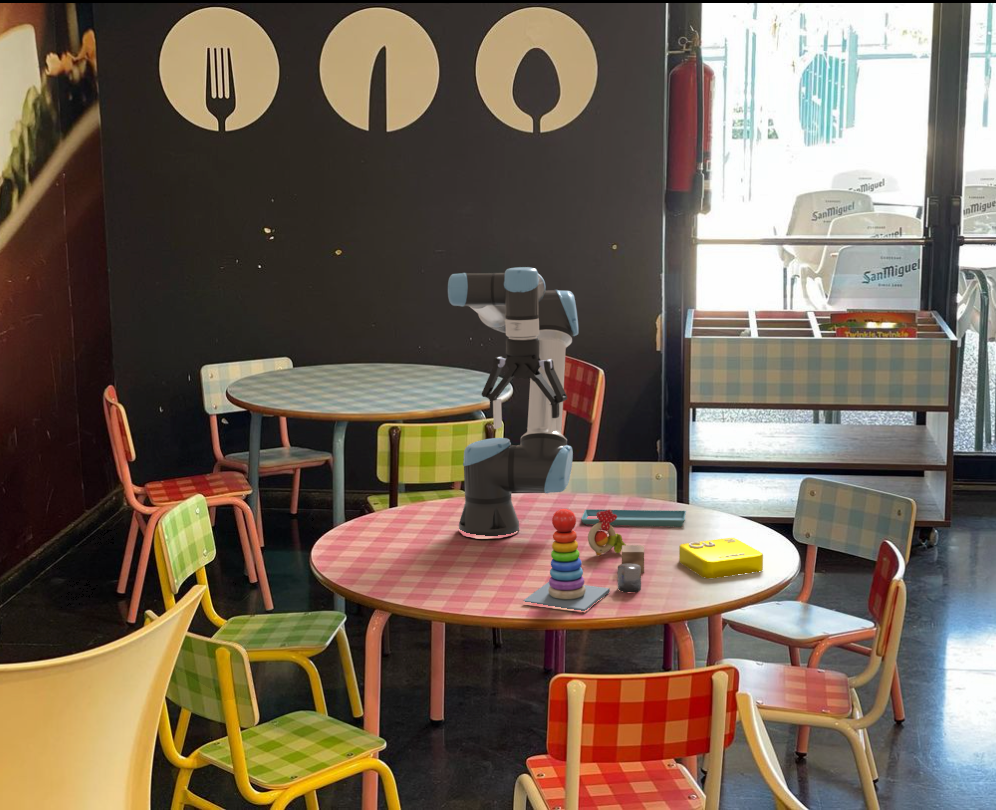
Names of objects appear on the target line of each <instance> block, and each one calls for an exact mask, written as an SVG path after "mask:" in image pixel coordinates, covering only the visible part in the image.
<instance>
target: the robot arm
mask: <svg viewBox="0 0 996 810" xmlns="http://www.w3.org/2000/svg"><path fill="white" fill-rule="evenodd" d="M447 297H448V302H449V304H451V305H452V306H454V307H457V306H458V307H470V309H472V310H473V311H474V312H476V313H477V315H478V317H479V319H480V321H481V322H482V323H483V324H484V325H485V326H487V327H488V328H491V329H493V330H495V331H498V332H500V333H504V334H505V336H506V337H507V338H506V339H505V354H506V357H505V358H504V357H503V356H501V355H500V356H496V357H495V358H494V359H493V364H492V369H491V371H490V372H489V373H490V374H489V376H488V377H487V380H486V382H485V385H484V387H483V390H482V392H481V396H482V397H483V398H487V399H488V400H489V413H490V414H491V415H493V416H492V418H493V429H494V430H498V429H500V428H502V427H503V423H502V421H503V417H502V416H503V415H502V399H501V398H499V397H500V395H502V393H503V391H504V390H505V389H506V387H507V386H508V385H509V383H510V382H511V381H512V379H514V378H515V379H523V380H528V379H530V380H529V382H530V383H529V395H528V396H529V397H528V398H529V399H528V415H527V427H526V429H527V431H526V432H525V433H524V434H523V435H521V437H520V444H518V445H516V444H515V445H513V444H512V443H511V440H510V439H509V438H507V437H492V438H486V439H480V440H477V441H474V442H471V443H469V444H468V445H467V446H465V448H464V451H463V463H462V466H463V475H464V477H463V478H464V479H463V480H464V505H463V507H462V508H463V509H462V512H461V515H460V519H459V523H458V530H459V529H460V530H462V531H464V532H466V533H470V534H476V535H485V536H498V535H506V534H511V533H514V532H516V531H518V530H519V531H520V522H519V519H518V515H517V513H516V510H515V508H514V504H513V501H512V493H541V494H542V493H545V494H550V493H551V494H552V493H562V492H565V490H566V489H567V487H568V485H569V481H570V479H571V473H572V467H573V457H574V455H573V454H574V453H573V447H572V446H571V445H568V439H567V437H565V435H563V434H562V427H563V410H564V401H567V400H568V395H567V394H566V391H565V371H566V370H565V367H566V366H565V365H566V349H567V348H568V347H569V346H570V345H571V344H572V343H573V337H575V336H577V335H579V320H578V319H579V318H578V310H577V305H576V300H575V299H576V297H575V295H574V293H573V292H572V291H570V290H558V289H554V290H546V282H545V280H544V278H543V277H542V275H541V274H539V272H538V270H537V268H536V267H535V268H534V267H530V266H527V267H526V266H522V267H521V266H519V267H511V268H510V267H509V268H507V269H506V270H505V271H504V272H493V273H492V272H491V273H490V272H488V273H487V272H486V273H479V272H477V273H475V272H473V273H472V272H471V273H469V272H468V273H467V272H462V273H452V274H451V275H450V276H449V278H448V282H447ZM504 366H506V368H507V369H508V370H507V372H506V373H505V374H504V377H503V378H502V379H501V380H500V381H499V383H498V384H497V385H496V383H497V382H498V381H497V380H498V378H499V376H500V374H501V371H502V369H503V367H504ZM495 385H496V387H495ZM494 387H495V388H494Z"/></svg>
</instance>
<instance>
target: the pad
mask: <svg viewBox="0 0 996 810" xmlns="http://www.w3.org/2000/svg"><path fill="white" fill-rule="evenodd" d="M584 586H585V588H586V592H585V594H584V595H583V596H581V597H579V598H576V599H568V600H566V599H557V598H554V597H552V596H551V595H550V594H549V591H548V589H549V587H550V584H549V581H547V582H546V583H545V584H543V585H542V586H540V588H538V589H537V590H536V591H534V592H533V593H531V594H530V595H528V596H527V597H526V598H524V599H523V600H522V601H525V602H531V603H537V604H543V605H548V606H555V607H561V608H567V609H574V610H581V611H585V610H587V609H588V608H590V607H591V606H592V605H593V604H594V603H596V602H597V601H598V600H600V599H601V598H603V597H604V596H605V595H606V594H608V593H609V592H610V591H611V589H610V588H609V587H602V586H601V587H600V586H596V585H595V586H593V585H587V584H584ZM609 594H610V593H609ZM609 594H608V595H609ZM606 596H607V595H606ZM606 596H605V597H606ZM605 597H604V598H605ZM604 598H603V599H604ZM600 601H601V600H600Z"/></svg>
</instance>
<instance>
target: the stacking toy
mask: <svg viewBox="0 0 996 810" xmlns="http://www.w3.org/2000/svg"><path fill="white" fill-rule="evenodd" d="M551 522H552V526H553V528H554V529H555V531H554V532H553V534H552V539H553V540H554V541H552V543H551V548H552V551H551V553H550V557H551V560H550V566H551V569H550V570H549V574H550V578H549V579H548V582H549V584H550V587H549V589H548V591H549V594H550V595H551V596H552V597H554V598H557V599H566V600H568V599H576V598H579V597H581V596H583V595H584V594H585V592H586V588H585V586H584V585H585V579H584V576H583V574H584V570H583V568H582V564H583V562H582V560H581V559H580V558H579V557H580V551H579V550H578V547H579V542H578V541H577V537H578V534H577V532H576V531H575V530H574V529H575V527H576V524H577V517H576V515H575V513H574V512H573V511H572V510H570V509H569V508H568V509H567V508H561V509H558V510H556V511H555V512H554V514H553V515H552V517H551Z"/></svg>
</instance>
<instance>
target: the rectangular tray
mask: <svg viewBox="0 0 996 810" xmlns="http://www.w3.org/2000/svg"><path fill="white" fill-rule="evenodd" d="M606 510H607V509H589V508H588V509H584V512H583V514H582V516H581V519H580V520H581V522H582V523H583V525H585V524H597V523H599V519H587V517H588V516H597V515H596V514H597V513H598V512H601V511H602V512H603V511H606ZM611 510H612V513H613V514H615V515H617V519H616V520H614V521H613V522H611V523H609V524H610V525H611V526H618V525H629V526H630V527H633V526H634V527H660V526H670V527H669V528H671V527H672V528H673V526H674V528H681V526H682V527H683V525H684V523H685V521H686V514H687V510H660V509H659V510H657V509H656V510H655V509H654V510H652V509H651V510H648V509H646V510H645V509H611ZM629 526H628V527H629Z"/></svg>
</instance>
